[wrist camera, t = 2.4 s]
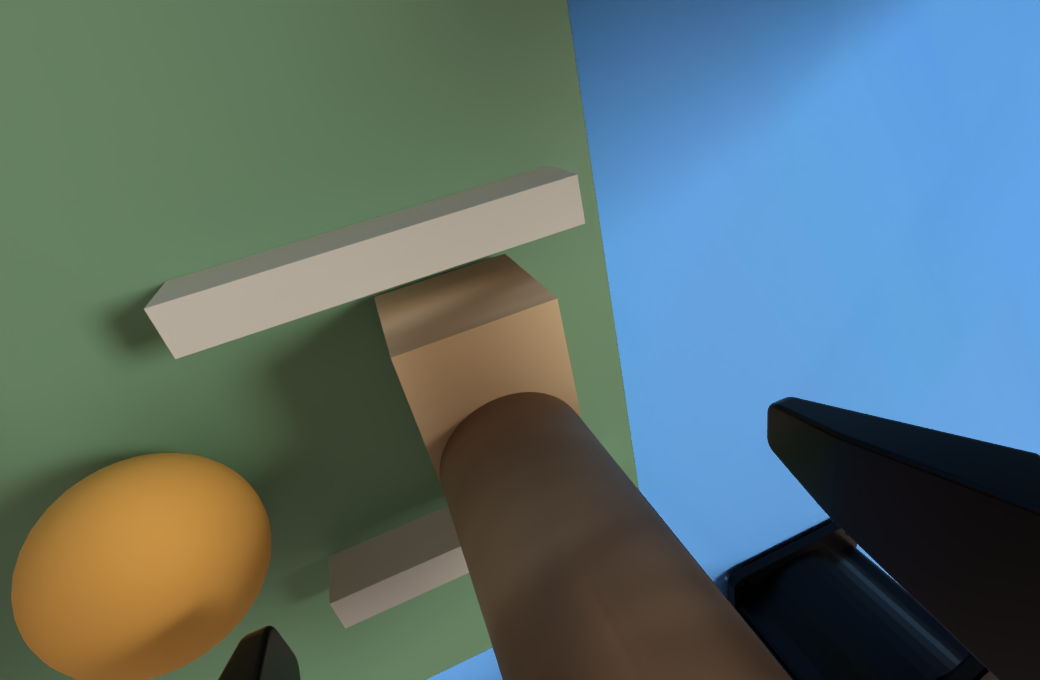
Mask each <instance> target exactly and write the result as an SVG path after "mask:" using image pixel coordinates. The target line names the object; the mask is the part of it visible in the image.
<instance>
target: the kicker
mask: <svg viewBox="0 0 1040 680" xmlns="http://www.w3.org/2000/svg"><path fill="white" fill-rule="evenodd" d="M374 300H375V303H376V307H377V310H378V314H379V318H380V321H381V325H382V328H383V332H384V336H385V339H386V343H387V346H388V350H389V354H390V357H391V360H392V362H393V365H394V367H395V370H396V373H397V375H398V378H399V380H400V383H401V385H402V388H403V390H404V393H405V395H406V398H407V400H408V403H409V405H410V408H411V410H412V413H413V416H414V418H415V421H416V423H417V426H418V428H419V431H420V433H421V436H422V438H423V441H424V443H425V446H426V448H427V451H428V453H429V456H430V458H431V461H432V464H433V466H434V469H435V471H436V474H437V476H438V479H439V481H440V484H441V486H442V489H443V492H444V495H445V498H446V501H447V504H448V508H449V511H450V514H451V517H452V520H453V523H454V527H455V530H456V533H457V536H458V539H459V542H460V545H461V549H462V552H463V555H464V558H465V561H466V564H467V568H468V571H469V574H470V577H471V580H472V583H473V587H474V590H475V593H476V596H477V599H478V602H479V605H480V609H481V612H482V615H483V618H484V621H485V624H486V628H487V631H488V634H489V637H490V640H491V643H492V647H493V650H494V653H495V656H496V659H497V662H498V665H499V669H500V672H501V675H502V678H503V680H792V679H791V677H790V676H789V675H788V674H787V672H786V671H785V670H784V669H783V667H782V666H781V665H780V664H779V663H778V661H777V660H776V659H775V658H774V656H773V655H772V654H771V653H770V651H769V650H768V649H767V648H766V646H765V645H764V644H763V643H762V642H761V640H760V639H759V638H758V637H757V635H756V634H755V633H754V632H753V630H752V629H751V628H750V627H749V626H748V624H747V623H746V622H745V621H744V619H743V618H742V617H741V616H740V614H739V613H738V612H737V611H736V609H735V608H734V607H733V606H732V605H731V603H730V602H729V601H728V600H727V598H726V597H725V596H724V595H723V593H722V592H721V591H720V590H719V588H718V587H717V586H716V585H715V584H714V582H713V581H712V580H711V579H710V577H709V576H708V575H707V574H706V572H705V571H704V570H703V569H702V567H701V566H700V565H699V564H698V563H697V561H696V560H695V559H694V558H693V556H692V555H691V554H690V553H689V551H688V550H687V549H686V548H685V546H684V545H683V544H682V543H681V542H680V540H679V539H678V538H677V537H676V535H675V534H674V533H673V532H672V530H671V529H670V528H669V527H668V525H667V524H666V523H665V522H664V521H663V519H662V518H661V517H660V516H659V514H658V513H657V512H656V511H655V509H654V508H653V507H652V506H651V504H650V503H649V502H648V501H647V500H646V498H645V497H644V496H643V495H642V493H641V492H640V491H639V490H638V488H637V487H636V486H635V485H634V483H633V482H632V481H631V480H630V479H629V477H628V476H627V475H626V474H625V472H624V471H623V470H622V469H621V467H620V466H619V465H618V464H617V462H616V461H615V460H614V459H613V458H612V456H611V455H610V454H609V453H608V451H607V450H606V449H605V448H604V446H603V445H602V444H601V443H600V442H599V440H598V439H597V438H596V437H595V435H594V434H593V433H592V432H591V430H590V429H589V428H588V427H587V425H586V424H585V423H584V422H583V421H582V418H581V413H580V408H579V403H578V398H577V393H576V388H575V383H574V378H573V373H572V368H571V364H570V359H569V354H568V349H567V344H566V339H565V334H564V329H563V324H562V319H561V314H560V309H559V304H558V299H557V298H556V297H555V296H554V295H553V294H552V293H551V292H549V291H548V290H547V289H546V288H545V287H544V286H542V285H541V284H540V283H539V282H538V281H537V280H535V279H534V278H533V277H532V276H531V275H530V274H528V273H527V272H526V271H525V270H524V269H523V268H521V267H520V266H519V265H518V264H517V263H516V262H514V261H513V260H512V259H511V258H510V257H509V256H507V255H506V254H502V255H499V256H496V257H493V258H490V259H487V260H484V261H481V262H478V263H475V264H472V265H469V266H466V267H463V268H460V269H457V270H454V271H451V272H448V273H445V274H442V275H439V276H436V277H433V278H430V279H427V280H424V281H421V282H418V283H415V284H412V285H409V286H406V287H403V288H400V289H397V290H394V291H391V292H388V293H385V294H382V295H379V296H376V297H374Z"/></svg>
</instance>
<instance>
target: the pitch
mask: <svg viewBox="0 0 1040 680" xmlns="http://www.w3.org/2000/svg"><path fill="white" fill-rule="evenodd" d="M502 254H506V255H507V256H509V257H510V258H511V259H512V260H513V261H514V262H516V263H517V264H518V265H519V266H520V267H521V268H523V269H524V270H525V271H526V272H527V273H528V274H530V275H531V276H532V277H533V278H534V279H535V280H537V281H538V282H539V283H540V284H541V285H542V286H544V287H545V288H546V289H547V290H548V291H549V292H551V293H552V294H553V295H554V296H555V297H556V298H557V299H558V304H559V309H560V314H561V319H562V324H563V329H564V334H565V339H566V344H567V349H568V354H569V359H570V364H571V368H572V373H573V378H574V383H575V388H576V393H577V398H578V403H579V408H580V413H581V418H582V421H583V422H584V423H585V424H586V425H587V427H588V428H589V429H590V430H591V432H592V433H593V434H594V435H595V437H596V438H597V439H598V440H599V442H600V443H601V444H602V445H603V446H604V448H605V449H606V450H607V451H608V453H609V454H610V455H611V456H612V458H613V459H614V460H615V461H616V462H617V464H618V465H619V466H620V467H621V469H622V470H623V471H624V472H625V474H626V475H627V476H628V477H629V479H630V480H631V481H632V482H633V483H634V485H635V486H636V487H637V488H638V490H639V487H638V481H637V474H636V467H635V460H634V453H633V447H632V440H631V433H630V426H629V419H628V413H627V406H626V399H625V392H624V385H623V379H622V372H621V365H620V358H619V351H618V344H617V338H616V331H615V324H614V317H613V310H612V304H611V297H610V290H609V283H608V276H607V270H606V263H605V256H604V249H603V242H602V236H601V229H600V222H599V215H598V208H597V202H596V195H595V188H594V181H593V174H592V167H591V161H590V154H589V147H588V140H587V133H586V127H585V120H584V113H583V106H582V99H581V93H580V86H579V79H578V72H577V65H576V59H575V52H574V45H573V38H572V31H571V24H570V18H569V11H568V4H567V0H0V680H79V679H75V678H72V677H70V676H67V675H65V674H63V673H60V672H58V671H57V670H55V669H53V668H51V667H49V666H48V665H47V664H45V663H44V662H43V661H42V660H41V659H40V658H39V657H38V656H37V655H36V654H35V653H34V652H33V651H32V650H31V649H30V648H29V647H28V646H27V644H26V643H25V641H24V640H23V638H22V636H21V634H20V632H19V630H18V627H17V625H16V622H15V619H14V614H13V608H12V602H11V592H12V578H13V573H14V569H15V566H16V562H17V559H18V556H19V552H20V550H21V548H22V546H23V544H24V543H25V541H26V539H27V537H28V535H29V533H30V531H31V529H32V528H33V527H34V525H35V524H36V523H37V521H38V520H39V519H40V517H41V516H42V515H43V514H44V512H45V511H46V510H47V509H48V508H49V507H50V506H51V505H52V504H53V503H54V502H55V501H56V500H57V499H58V498H59V497H60V496H61V495H62V494H63V493H65V492H66V491H67V490H68V489H70V488H71V487H72V486H74V485H75V484H76V483H78V482H79V481H81V480H82V479H84V478H86V477H87V476H89V475H91V474H93V473H94V472H96V471H98V470H100V469H102V468H104V467H107V466H109V465H112V464H114V463H117V462H119V461H122V460H126V459H129V458H132V457H136V456H141V455H146V454H155V453H187V454H193V455H198V456H202V457H206V458H209V459H212V460H214V461H217V462H219V463H221V464H224V465H225V466H227V467H229V468H231V469H233V470H234V471H235V472H237V473H238V474H239V475H241V476H242V477H243V478H244V479H245V480H246V481H247V482H248V483H249V484H250V485H251V486H252V487H253V489H254V490H255V491H256V493H257V494H258V496H259V498H260V499H261V501H262V503H263V505H264V507H265V509H266V512H267V516H268V519H269V523H270V529H271V557H270V562H269V567H268V571H267V574H266V577H265V580H264V583H263V585H262V587H261V590H260V592H259V594H258V596H257V598H256V599H255V601H254V603H253V605H252V606H251V608H250V609H249V611H248V612H247V614H246V615H245V616H244V618H243V619H242V620H241V621H240V622H239V624H238V625H237V626H236V627H235V628H234V630H233V631H232V632H231V633H230V634H228V635H227V636H226V637H225V638H224V639H223V640H222V641H221V642H220V643H219V644H217V645H216V646H215V647H214V648H212V649H211V650H210V651H208V652H207V653H206V654H204V655H202V656H201V657H199V658H198V659H196V660H194V661H193V662H191V663H189V664H188V665H186V666H184V667H181V668H179V669H177V670H175V671H172V672H170V673H167V674H164V675H162V676H158V677H155V678H152V679H148V680H218V679H219V677H220V675H221V673H222V671H223V670H224V668H225V666H226V664H227V663H228V661H229V659H230V657H231V655H232V654H233V652H234V650H235V648H236V647H237V645H238V643H239V642H240V640H241V639H242V638H243V637H244V636H246V635H247V634H249V633H252V632H254V631H256V630H259V629H261V628H263V627H265V626H273V627H274V628H275V629H276V630H277V631H278V632H279V634H280V635H281V636H282V638H283V639H284V640H285V642H286V643H287V644H288V646H289V647H290V648H291V650H292V651H293V653H294V654H295V656H296V658H297V661H298V665H299V670H300V679H301V680H426V679H428V678H430V677H432V676H434V675H436V674H438V673H440V672H443V671H445V670H447V669H449V668H451V667H453V666H455V665H457V664H459V663H461V662H463V661H465V660H467V659H469V658H471V657H473V656H475V655H477V654H480V653H482V652H484V651H486V650H488V649H490V648H492V643H491V640H490V637H489V634H488V631H487V628H486V624H485V621H484V618H483V615H482V612H481V609H480V605H479V602H478V599H477V596H476V593H475V590H474V587H473V583H472V580H471V577H470V574H469V571H468V568H467V564H466V561H465V558H464V555H463V552H462V549H461V545H460V542H459V539H458V536H457V533H456V530H455V527H454V523H453V520H452V517H451V514H450V511H449V508H448V504H447V501H446V498H445V495H444V492H443V489H442V486H441V484H440V481H439V479H438V476H437V474H436V471H435V469H434V466H433V464H432V461H431V458H430V456H429V453H428V451H427V448H426V446H425V443H424V441H423V438H422V436H421V433H420V431H419V428H418V426H417V423H416V421H415V418H414V416H413V413H412V410H411V408H410V405H409V403H408V400H407V398H406V395H405V393H404V390H403V388H402V385H401V383H400V380H399V378H398V375H397V373H396V370H395V367H394V365H393V362H392V360H391V357H390V354H389V350H388V346H387V343H386V339H385V336H384V332H383V328H382V325H381V321H380V318H379V314H378V310H377V307H376V303H375V300H374V297H376V296H379V295H382V294H385V293H388V292H391V291H394V290H397V289H400V288H403V287H406V286H409V285H412V284H415V283H418V282H421V281H424V280H427V279H430V278H433V277H436V276H439V275H442V274H445V273H448V272H451V271H454V270H457V269H460V268H463V267H466V266H469V265H472V264H475V263H478V262H481V261H484V260H487V259H490V258H493V257H496V256H499V255H502Z"/></svg>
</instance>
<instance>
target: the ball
mask: <svg viewBox="0 0 1040 680" xmlns="http://www.w3.org/2000/svg"><path fill="white" fill-rule="evenodd" d="M270 557H271V529H270V523H269V519H268V516H267V512H266V509H265V507H264V505H263V503H262V501H261V499H260V498H259V496H258V494H257V493H256V491H255V490H254V489H253V487H252V486H251V485H250V484H249V483H248V482H247V481H246V480H245V479H244V478H243V477H242V476H241V475H239V474H238V473H237V472H235V471H234V470H233V469H231V468H229V467H227V466H225V465H224V464H221V463H219V462H217V461H214V460H212V459H209V458H206V457H202V456H198V455H193V454H187V453H155V454H146V455H141V456H136V457H132V458H129V459H126V460H122V461H119V462H117V463H114V464H112V465H109V466H107V467H104V468H102V469H100V470H98V471H96V472H94V473H93V474H91V475H89V476H87V477H86V478H84V479H82V480H81V481H79V482H78V483H76V484H75V485H74V486H72V487H71V488H70V489H68V490H67V491H66V492H65V493H63V494H62V495H61V496H60V497H59V498H58V499H57V500H56V501H55V502H54V503H53V504H52V505H51V506H50V507H49V508H48V509H47V510H46V511H45V512H44V514H43V515H42V516H41V517H40V519H39V520H38V521H37V523H36V524H35V525H34V527H33V528H32V529H31V531H30V533H29V535H28V537H27V539H26V541H25V543H24V544H23V546H22V548H21V550H20V552H19V556H18V559H17V562H16V566H15V569H14V573H13V578H12V592H11V602H12V608H13V614H14V619H15V622H16V625H17V627H18V630H19V632H20V634H21V636H22V638H23V640H24V641H25V643H26V644H27V646H28V647H29V648H30V649H31V650H32V651H33V652H34V653H35V654H36V655H37V656H38V657H39V658H40V659H41V660H42V661H43V662H44V663H45V664H47V665H48V666H49V667H51V668H53V669H55V670H57V671H58V672H60V673H63V674H65V675H67V676H70V677H72V678H75V679H79V680H148V679H152V678H155V677H158V676H162V675H164V674H167V673H170V672H172V671H175V670H177V669H179V668H181V667H184V666H186V665H188V664H189V663H191V662H193V661H194V660H196V659H198V658H199V657H201V656H202V655H204V654H206V653H207V652H208V651H210V650H211V649H212V648H214V647H215V646H216V645H217V644H219V643H220V642H221V641H222V640H223V639H224V638H225V637H226V636H227V635H228V634H230V633H231V632H232V631H233V630H234V628H235V627H236V626H237V625H238V624H239V622H240V621H241V620H242V619H243V618H244V616H245V615H246V614H247V612H248V611H249V609H250V608H251V606H252V605H253V603H254V601H255V599H256V598H257V596H258V594H259V592H260V590H261V587H262V585H263V583H264V580H265V577H266V574H267V571H268V567H269V562H270Z"/></svg>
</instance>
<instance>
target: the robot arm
mask: <svg viewBox="0 0 1040 680" xmlns="http://www.w3.org/2000/svg"><path fill="white" fill-rule="evenodd" d="M767 439H768V443H769V445H770V447H771V449H772V451H773V452H774V453H775V454H776V456H777V457H778V458H779V459H780V460H781V461H782V462H783V464H784V465H785V466H786V467H787V468H788V469H789V471H790V472H791V473H792V474H793V475H794V476H795V478H796V479H797V480H798V481H799V482H800V483H801V485H802V486H803V487H804V488H805V489H806V490H807V492H808V493H809V494H810V495H811V496H812V497H813V499H814V500H815V501H816V502H817V503H818V504H819V506H820V507H821V508H822V509H823V510H824V511H825V512H826V513H827V514H828V515H829V517H830V518H831V519H832V520H833V522H831V523H830V524H828V525H826V526H824V527H822V528H820V529H818V530H816V531H814V532H812V533H810V534H808V535H806V536H804V537H802V538H800V539H798V540H796V541H794V542H792V543H790V544H788V545H786V546H784V547H782V548H780V549H778V550H776V551H774V552H772V553H770V554H768V555H766V556H764V557H762V558H760V559H758V560H756V561H754V562H752V563H750V564H748V565H746V566H744V567H742V568H740V569H738V570H737V571H735V572H734V573H733V574H732V575H731V576H730V578H729V579H728V601H729V602H730V603H731V605H732V606H733V607H734V608H735V609H736V611H737V612H738V613H739V614H740V616H741V617H742V618H743V619H744V621H745V622H746V623H747V624H748V626H749V627H750V628H751V629H752V630H753V632H754V633H755V634H756V635H757V637H758V638H759V639H760V640H761V642H762V643H763V644H764V645H765V646H766V648H767V649H768V650H769V651H770V653H771V654H772V655H773V656H774V658H775V659H776V660H777V661H778V663H779V664H780V665H781V666H782V667H783V669H784V670H785V671H786V672H787V674H788V675H789V676H790V677H791V679H792V680H1040V455H1038V454H1036V453H1032V452H1027V451H1023V450H1019V449H1014V448H1010V447H1006V446H1002V445H997V444H993V443H989V442H984V441H980V440H976V439H971V438H967V437H963V436H958V435H954V434H950V433H946V432H941V431H937V430H933V429H928V428H924V427H920V426H915V425H911V424H907V423H902V422H898V421H894V420H890V419H885V418H881V417H877V416H872V415H868V414H864V413H859V412H855V411H851V410H846V409H842V408H838V407H834V406H829V405H825V404H821V403H816V402H812V401H808V400H803V399H799V398H795V397H786V398H784V399H782V400H779V401H777V402H775V403H772V404H771V405H770V406H769V408H768V417H767ZM857 544H858V545H859V546H860V547H861V548H862V549H863V550H864V551H865V552H866V553H867V554H868V555H870V556H871V557H872V558H873V559H874V560H875V561H876V562H877V563H878V564H879V565H880V566H881V567H882V568H883V569H884V570H885V571H886V572H887V573H888V574H889V575H890V576H891V577H892V578H893V579H894V580H893V579H892V578H891V577H890V576H889V575H887V574H886V573H885V572H884V571H883V570H882V569H880V568H879V567H878V566H877V565H876V564H874V563H873V562H872V561H871V560H870V559H869V558H867V557H866V556H865V555H864V554H863V553H861V552H860V551H859V550H858V549H857V548H856V546H857ZM896 581H897V582H898V583H899V584H900V585H899V584H898V583H897V582H896ZM218 680H301V679H300V670H299V665H298V661H297V658H296V656H295V654H294V653H293V651H292V650H291V648H290V647H289V646H288V644H287V643H286V642H285V640H284V639H283V638H282V636H281V635H280V634H279V632H278V631H277V630H276V629H275V628H274V627H273V626H265V627H263V628H261V629H259V630H256V631H254V632H252V633H249V634H247V635H246V636H244V637H243V638H242V639H241V640H240V642H239V643H238V645H237V647H236V648H235V650H234V652H233V654H232V655H231V657H230V659H229V661H228V663H227V664H226V666H225V668H224V670H223V671H222V673H221V675H220V677H219V679H218Z"/></svg>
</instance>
